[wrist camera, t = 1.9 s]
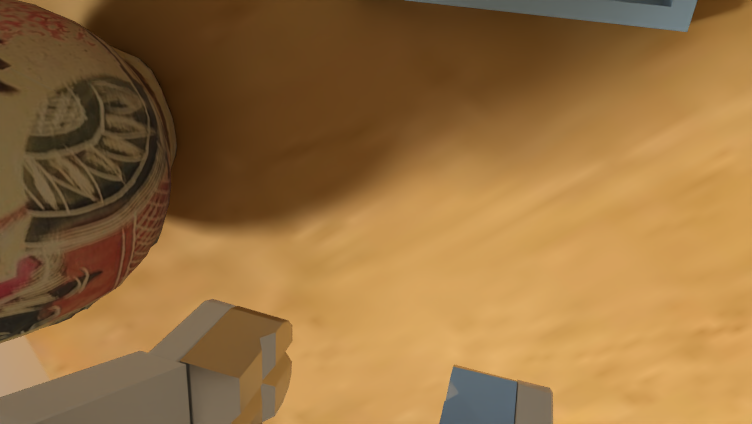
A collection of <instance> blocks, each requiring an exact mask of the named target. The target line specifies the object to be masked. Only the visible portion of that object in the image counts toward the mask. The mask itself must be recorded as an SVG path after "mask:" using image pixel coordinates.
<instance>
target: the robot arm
mask: <svg viewBox="0 0 752 424" xmlns="http://www.w3.org/2000/svg"><path fill="white" fill-rule="evenodd" d="M291 342H292V324H291V323H290V322H289V321H288V320H285V319H282V318H278V317H275V316H271V315H268V314H264V313H261V312H257V311H254V310H251V309H247V308H244V307H240V306H235V305H232V304H228V303H225V302H221V301H218V300H214V299H211V300H207V301H204V302H203V303H202V304H201V305H200V306H199V307H198V308H197V309H195V310H194V311H193V312H192V313H191V314H190V315H189V316H188V317H187V318H186V319H185V320H183V321H182V322H181V323H180V324H179V325H178V326H177V327H176V328H175V329H174V330H173V331H172V332H170V333H169V334H168V335H167V336H166V337H165V338H164V339H163V340H162V341H161V342H160V343H158V344H157V345H156V346H155V347H154V348H153V349H152V350H151V351H150V352H149V353H146V352H143V351H138V352H135V353H132V354H129V355H126V356H123V357H120V358H117V359H114V360H111V361H108V362H105V363H102V364H99V365H96V366H93V367H90V368H87V369H84V370H81V371H78V372H75V373H72V374H69V375H66V376H63V377H60V378H57V379H54V380H51V381H48V382H45V383H42V384H39V385H36V386H33V387H30V388H27V389H24V390H21V391H18V392H15V393H12V394H9V395H6V396H3V397H0V424H262V422H263V421H265V420H267V419H270V418H272V417H274V416H275V415H276V413H277V411H278V410H279V408H280V406H281V405H282V403H283V400H284V398H285V395H286V393H287V390H288V387H289V383H290V378H291V369H292V361H291V360H290V358H289V356H288V355H287V353H286V352H285V351H286V350H287V348H288V347H289V345H290V344H291ZM439 424H553V393H552V391H551V389H550V388H548V387H544V386H540V385H536V384H532V383H528V382H523V381H519V380H517V381H516V380H512V379H508V378H504V377H500V376H496V375H492V374H489V373H485V372H481V371H477V370H473V369H469V368H465V367H462V366H458V365H454V366H453V370H452V374H451V378H450V382H449V387H448V392H447V397H446V401H445V402H444V406H443V410H442V415H441V419H440V423H439Z"/></svg>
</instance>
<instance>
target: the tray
mask: <svg viewBox="0 0 752 424" xmlns="http://www.w3.org/2000/svg"><path fill="white" fill-rule="evenodd" d="M406 1H415V2H424V3H433V4H442V5H451V6H460V7H469V8H478V9H487V10H496V11H505V12H514V13H523V14H531V15H540V16H549V17H558V18H567V19H576V20H585V21H594V22H603V23H612V24H621V25H630V26H639V27H647V28H656V29H665V30H674V31H683V32H687V31H688V28H689V25H690V22H691V19H692V16H693V12H694V9H695V6H696V3H697V0H406Z"/></svg>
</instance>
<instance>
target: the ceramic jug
mask: <svg viewBox="0 0 752 424" xmlns="http://www.w3.org/2000/svg"><path fill="white" fill-rule="evenodd" d="M176 149H177V143H176V135H175V129H174V123H173V118H172V115H171V113H170V110H169V107H168V105H167V102H166V100H165V97H164V95H163V92H162V89H161V87H160V85H159V84H158V82H157V80H156V78H155V76H154V74H153V72H152V70H151V69H150V68H149V67H148V66H146V65H145V64H144V63H143V62H142V61H141V60H140V59H139V58H137V57H134V56H132V55H130V54H127V53H125V52H123V51H121V50H119V49H116V48H114V47H112V46H110V45H108V44H107V43H106V42H105V41H104V40H102V39H101V38H99V37H98V36H96V35H95V34H93V33H92V32H90V31H89V30H87V29H86V28H84V27H83V26H81V25H79V24H78V23H76V22H75V21H72V20H70V19H67V18H65V17H63V16H60V15H58V14H55V13H53V12H51V11H48V10H46V9H43V8H41V7H39V6H36V5H34V4H30V3H26V2H22V1H18V0H0V343H2V342H5V341H8V340H11V339H15V338H18V337H21V336H24V335H26V334H29V333H31V332H34V331H36V330H39V329H41V328H44V327H47V326H51V325H54V324H58V323H60V322H62V321H65V320H67V319H69V318H71V317H73V316H74V315H75V314H76V313H78V312H80V311H82V310H84V309H88V308H89V307H90V306H91V305H92V304H93V303H95V302H96V301H97V300H99V299H100V298H101V297H103V296H105V295H106V294H108V293H110V292H111V291H113V290H114V289H116V288H117V287H119V286H120V285H121V284H122V283H123V281H124V280H125V279H126V278H127V277H128V275H129V274H130V273H131V272H132V271H133V270H134V269H135V268H136V267H137V266H138V265H139V264H140V263H141V261H142V260H143V259H144V258H145V257H146V255H147V254H148V252H149V250H150V248H151V247H152V246H153V245H154V244H156V243H157V241H158V239H159V236H160V234H161V231H162V227H163V223H164V220H165V216H166V213H167V209H168V205H169V199H170V191H171V167H172V164H173V161H174V158H175V156H176Z"/></svg>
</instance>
